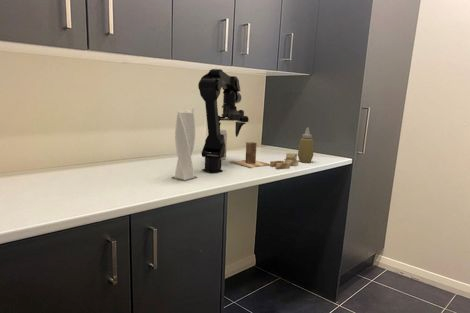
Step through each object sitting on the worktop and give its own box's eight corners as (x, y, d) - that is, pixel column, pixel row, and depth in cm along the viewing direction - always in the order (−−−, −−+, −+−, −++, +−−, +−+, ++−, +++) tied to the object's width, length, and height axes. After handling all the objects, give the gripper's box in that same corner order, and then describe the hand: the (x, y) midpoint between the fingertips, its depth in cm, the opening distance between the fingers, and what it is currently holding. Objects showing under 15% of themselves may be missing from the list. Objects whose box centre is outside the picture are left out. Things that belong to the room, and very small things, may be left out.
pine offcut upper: (293, 160, 162) (293, 154, 161) (285, 159, 164) (286, 153, 163) (296, 159, 165) (297, 153, 165) (289, 158, 167) (289, 152, 167)
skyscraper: (200, 178, 130) (202, 106, 125) (185, 182, 123) (187, 105, 118) (183, 174, 135) (185, 104, 130) (169, 178, 128) (170, 104, 123)
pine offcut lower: (289, 166, 162) (289, 160, 161) (284, 164, 166) (284, 158, 166) (298, 166, 164) (298, 160, 163) (292, 164, 168) (293, 158, 168)
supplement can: (207, 159, 170) (208, 129, 168) (213, 156, 178) (214, 128, 175) (222, 160, 168) (224, 131, 165) (228, 158, 176) (229, 129, 173)
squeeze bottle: (305, 163, 170) (308, 128, 167) (293, 161, 176) (296, 126, 173) (316, 162, 175) (319, 128, 171) (304, 159, 181) (307, 126, 178)
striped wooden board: (249, 167, 154) (249, 167, 154) (230, 162, 164) (230, 161, 164) (270, 164, 163) (270, 164, 163) (250, 160, 173) (250, 159, 173)
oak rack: (277, 169, 154) (277, 163, 154) (270, 166, 160) (270, 161, 159) (289, 168, 157) (290, 163, 157) (282, 165, 163) (282, 160, 162)
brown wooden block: (248, 163, 161) (249, 143, 159) (245, 162, 164) (246, 142, 162) (255, 163, 163) (256, 143, 161) (252, 162, 165) (253, 142, 164)
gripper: (217, 103, 145) (216, 139, 148) (254, 105, 153) (253, 138, 156) (208, 102, 155) (207, 136, 158) (243, 104, 163) (242, 135, 166)
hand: (227, 136), depth 159 cm, fingers open, 9 cm apart
